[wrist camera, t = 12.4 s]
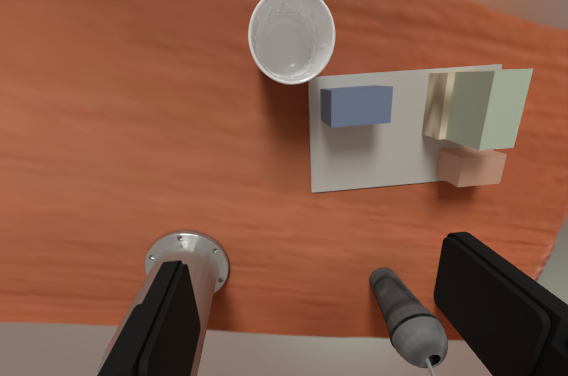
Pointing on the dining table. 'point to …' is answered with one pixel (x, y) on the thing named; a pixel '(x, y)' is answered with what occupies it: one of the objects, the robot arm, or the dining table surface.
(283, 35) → the white cup
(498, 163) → the terracotta block
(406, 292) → the beverage cup
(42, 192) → the dining table surface
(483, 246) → the robot arm
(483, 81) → the sage block
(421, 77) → the felt placemat
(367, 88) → the slate blue block
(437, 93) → the beech block
